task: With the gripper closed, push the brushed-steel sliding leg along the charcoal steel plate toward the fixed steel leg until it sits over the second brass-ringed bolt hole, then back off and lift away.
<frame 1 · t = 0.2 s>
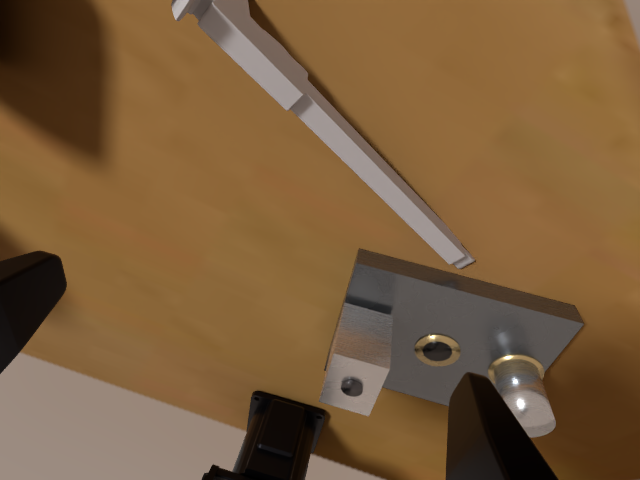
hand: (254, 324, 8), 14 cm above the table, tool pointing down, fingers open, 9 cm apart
sliding leg: (356, 359, 23), point 4 cm above the table, slide at 0.0 cm
caliper: (354, 127, 20), on the table
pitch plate: (435, 333, 26), on the table
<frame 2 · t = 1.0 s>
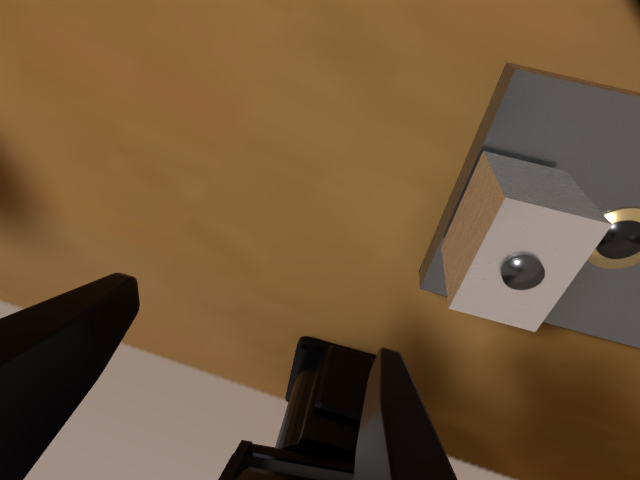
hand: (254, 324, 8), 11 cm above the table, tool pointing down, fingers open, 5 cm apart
sliding leg: (508, 239, 14), point 4 cm above the table, slide at 0.0 cm
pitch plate: (604, 220, 17), on the table
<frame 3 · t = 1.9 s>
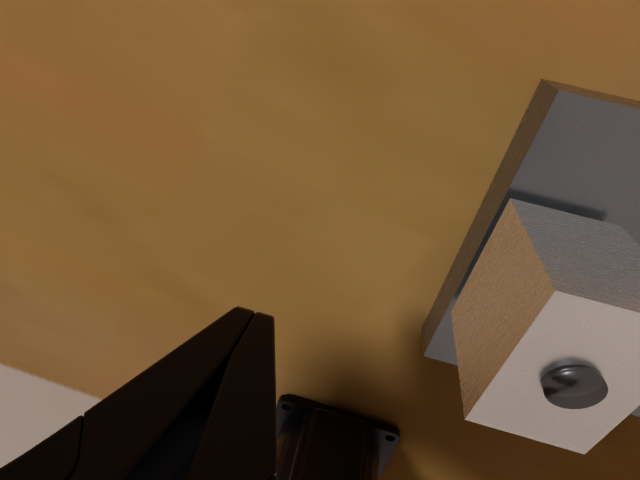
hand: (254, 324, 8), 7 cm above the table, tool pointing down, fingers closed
sliding leg: (546, 322, 10), point 4 cm above the table, slide at 0.0 cm
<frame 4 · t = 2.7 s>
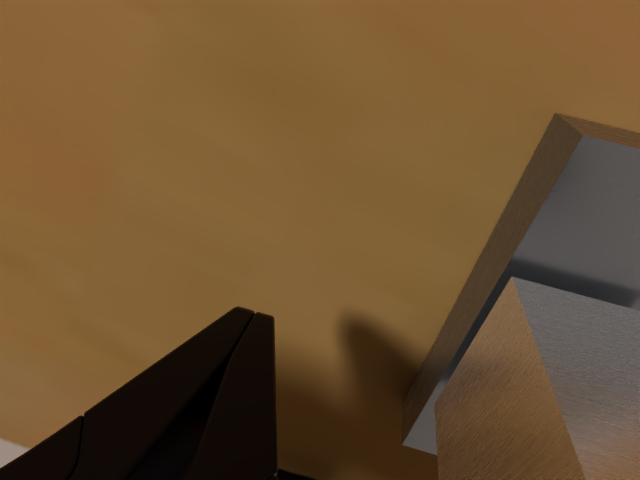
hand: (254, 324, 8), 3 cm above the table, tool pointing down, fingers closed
sliding leg: (562, 458, 7), point 4 cm above the table, slide at 0.0 cm
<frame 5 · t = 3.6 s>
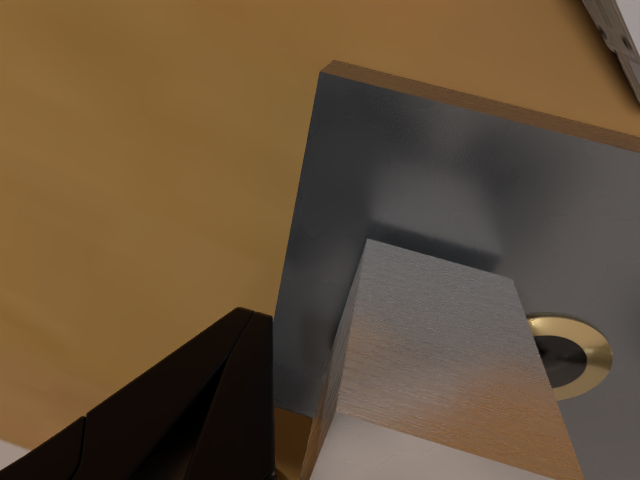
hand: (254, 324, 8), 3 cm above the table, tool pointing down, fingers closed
sliding leg: (403, 411, 7), point 4 cm above the table, slide at 1.7 cm, touching gripper
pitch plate: (526, 316, 10), on the table
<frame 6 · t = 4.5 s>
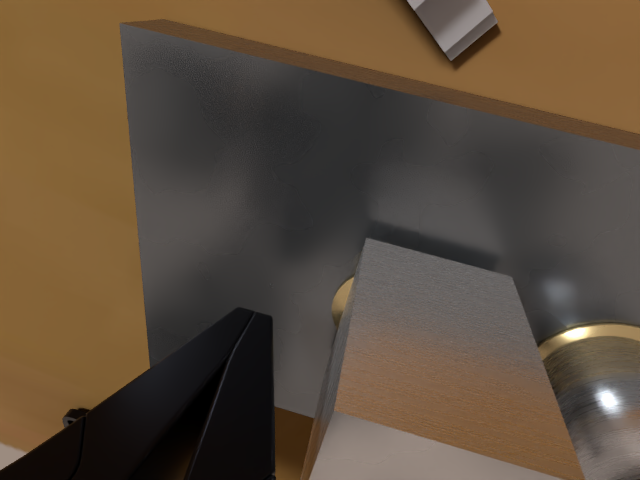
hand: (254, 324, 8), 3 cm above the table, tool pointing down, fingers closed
sliding leg: (403, 410, 7), point 4 cm above the table, slide at 5.4 cm, touching gripper
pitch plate: (391, 277, 11), on the table
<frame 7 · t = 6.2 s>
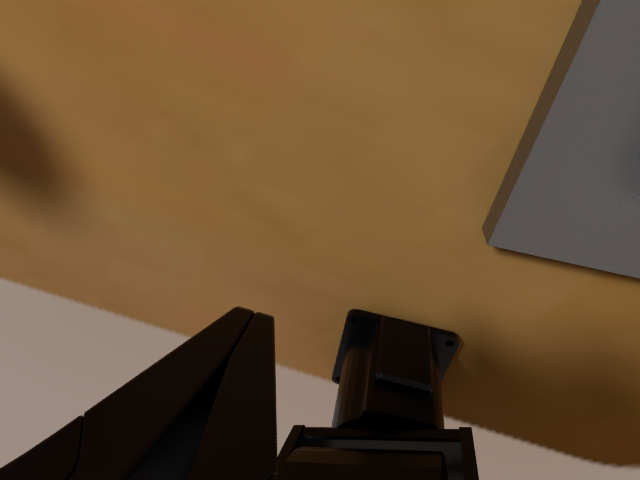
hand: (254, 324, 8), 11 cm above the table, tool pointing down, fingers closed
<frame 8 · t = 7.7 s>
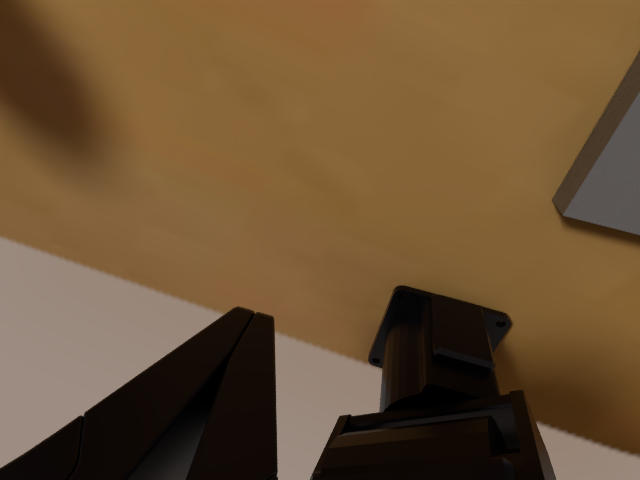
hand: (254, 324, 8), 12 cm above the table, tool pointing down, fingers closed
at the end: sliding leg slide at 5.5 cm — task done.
